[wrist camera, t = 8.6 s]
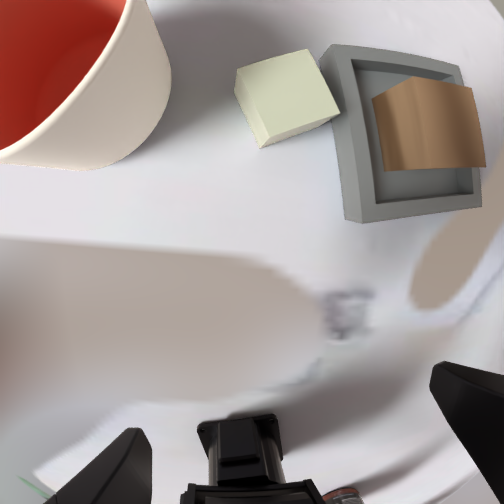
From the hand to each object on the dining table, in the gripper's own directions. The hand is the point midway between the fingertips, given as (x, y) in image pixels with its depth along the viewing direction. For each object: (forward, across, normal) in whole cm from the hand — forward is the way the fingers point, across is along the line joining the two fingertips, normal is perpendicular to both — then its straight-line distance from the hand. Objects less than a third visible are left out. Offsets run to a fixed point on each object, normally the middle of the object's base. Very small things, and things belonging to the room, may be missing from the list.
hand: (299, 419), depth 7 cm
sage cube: (+12, -3, -11) cm, 17 cm away
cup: (+12, +8, -14) cm, 20 cm away
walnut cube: (+11, -12, -9) cm, 19 cm away
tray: (+12, -12, -9) cm, 19 cm away
